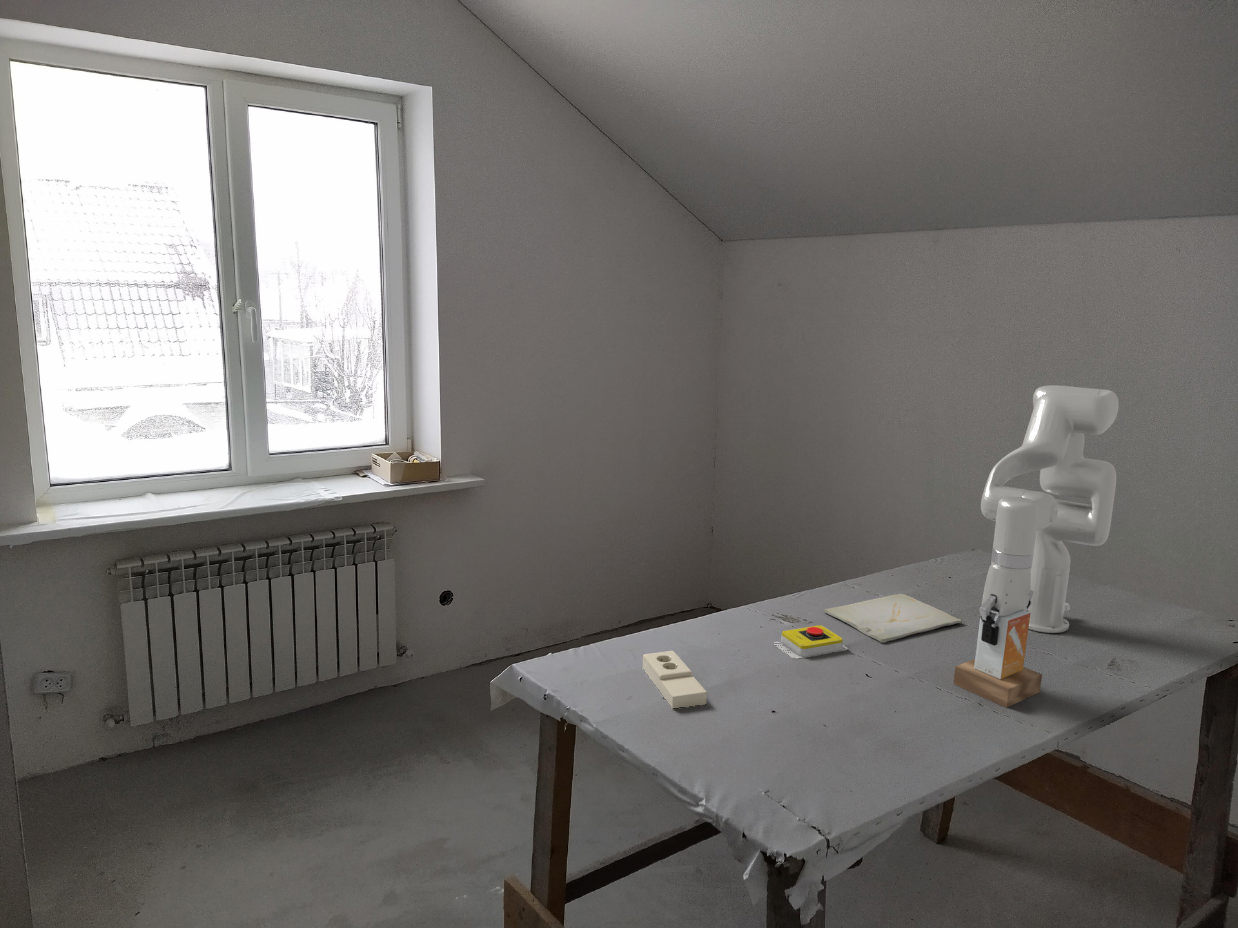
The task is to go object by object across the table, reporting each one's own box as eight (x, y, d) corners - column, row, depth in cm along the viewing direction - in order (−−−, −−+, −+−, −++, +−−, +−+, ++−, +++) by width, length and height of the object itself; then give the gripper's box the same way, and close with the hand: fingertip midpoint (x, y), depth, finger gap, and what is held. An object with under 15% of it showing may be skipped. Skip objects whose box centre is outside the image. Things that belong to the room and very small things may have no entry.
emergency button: (850, 633, 196) (794, 643, 190) (849, 651, 197) (793, 661, 191) (826, 618, 204) (772, 627, 199) (825, 635, 205) (771, 645, 200)
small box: (1001, 680, 174) (1008, 620, 171) (973, 668, 179) (979, 609, 176) (1024, 671, 178) (1031, 612, 176) (996, 659, 184) (1003, 602, 181)
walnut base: (986, 669, 188) (988, 652, 187) (1039, 692, 178) (1042, 674, 177) (953, 683, 181) (955, 666, 180) (1006, 707, 171) (1008, 689, 170)
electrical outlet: (672, 692, 168) (642, 653, 184) (672, 711, 169) (642, 671, 185) (706, 687, 170) (673, 649, 187) (706, 706, 171) (673, 666, 187)
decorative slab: (883, 647, 200) (884, 639, 199) (820, 615, 218) (821, 608, 217) (963, 625, 213) (964, 618, 212) (898, 597, 231) (898, 590, 230)
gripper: (1018, 545, 181) (1009, 621, 185) (969, 561, 172) (961, 640, 176) (1053, 555, 175) (1043, 633, 179) (1004, 572, 166) (995, 654, 170)
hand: (1002, 637), depth 177 cm, fingers open, 9 cm apart
